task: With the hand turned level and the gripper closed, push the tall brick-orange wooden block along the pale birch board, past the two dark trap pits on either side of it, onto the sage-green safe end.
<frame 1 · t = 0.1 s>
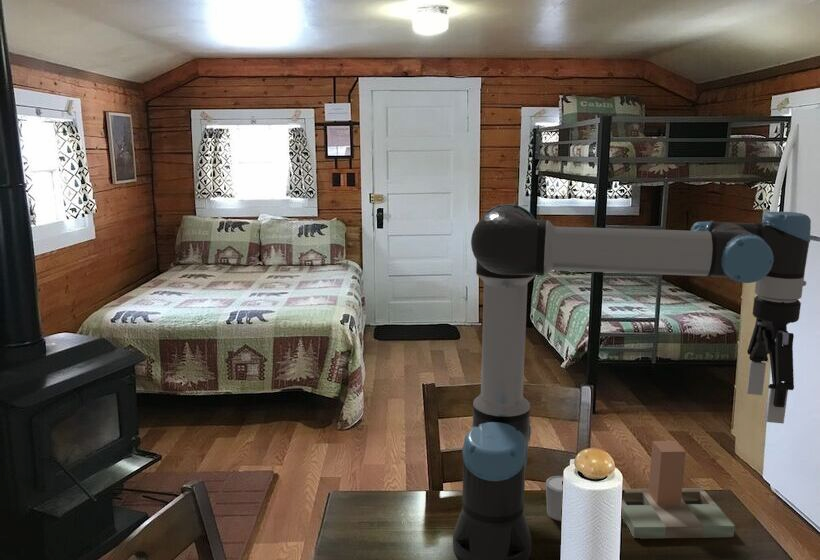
hand: (763, 407, 128), 28 cm above the table, tool pointing down, fingers open, 13 cm apart
board: (668, 516, 142), on the table
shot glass: (560, 514, 143), on the table
block: (664, 498, 144), point 2 cm above the table, touching board
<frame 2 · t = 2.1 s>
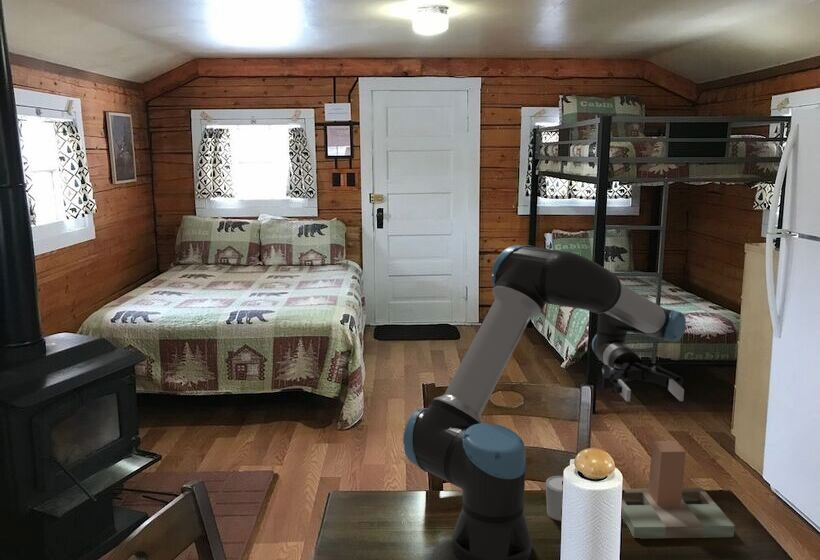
hand: (655, 395, 149), 22 cm above the table, tool horizontal, fingers open, 11 cm apart
nothing on the table moved.
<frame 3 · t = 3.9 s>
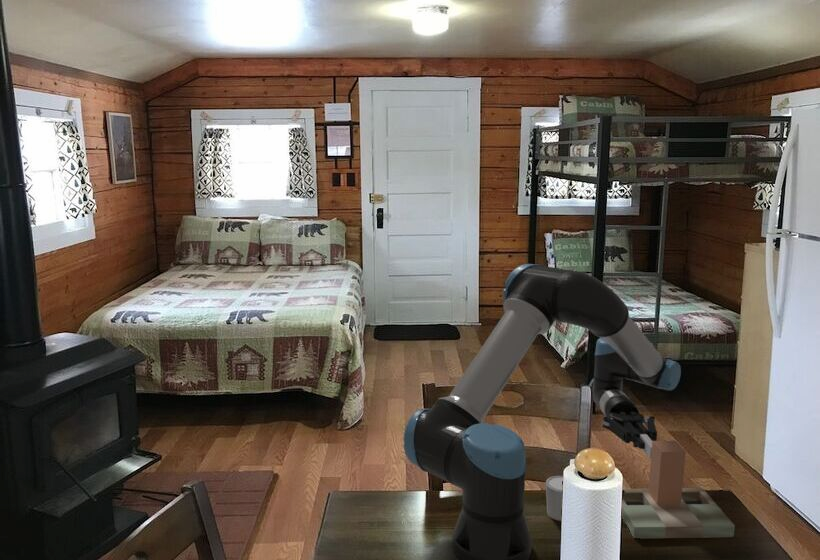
hand: (653, 452, 150), 9 cm above the table, tool horizontal, fingers closed
nothing on the table moved.
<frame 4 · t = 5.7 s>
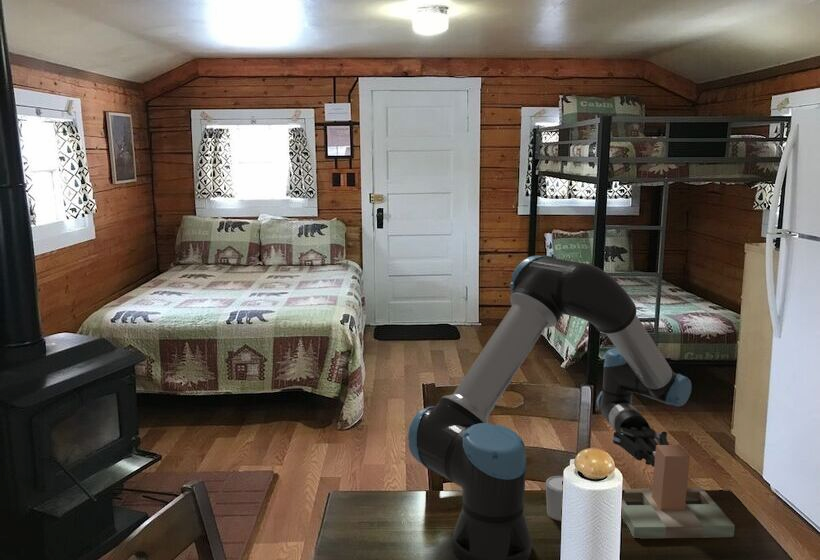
hand: (667, 471, 144), 8 cm above the table, tool horizontal, fingers closed
block: (667, 503, 142), point 3 cm above the table, touching board
everything else where it was.
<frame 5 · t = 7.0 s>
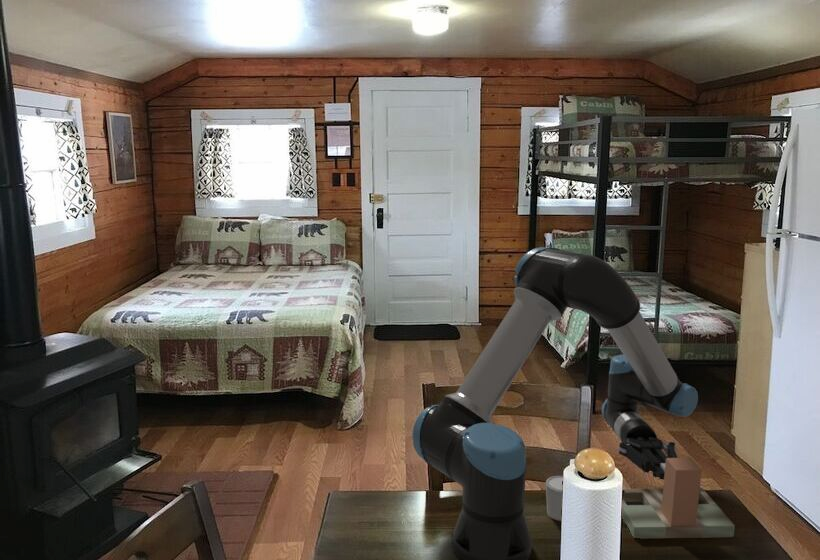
hand: (675, 484, 138), 8 cm above the table, tool horizontal, fingers closed
block: (678, 518, 137), point 3 cm above the table, touching board, gripper
everything else where it was.
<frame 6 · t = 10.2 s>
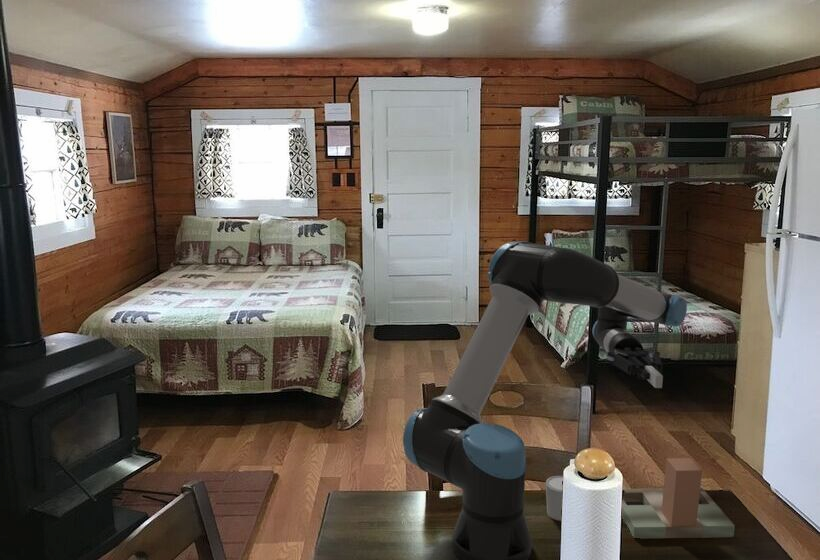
hand: (658, 382, 146), 26 cm above the table, tool horizontal, fingers closed
block: (678, 519, 137), point 2 cm above the table, touching board
everything else where it was.
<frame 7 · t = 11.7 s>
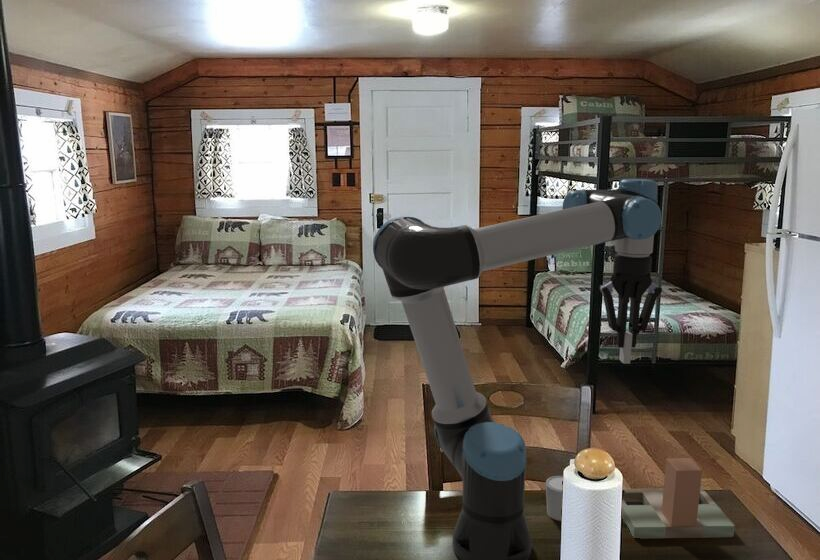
hand: (624, 361, 147), 30 cm above the table, tool pointing down, fingers closed
nothing on the table moved.
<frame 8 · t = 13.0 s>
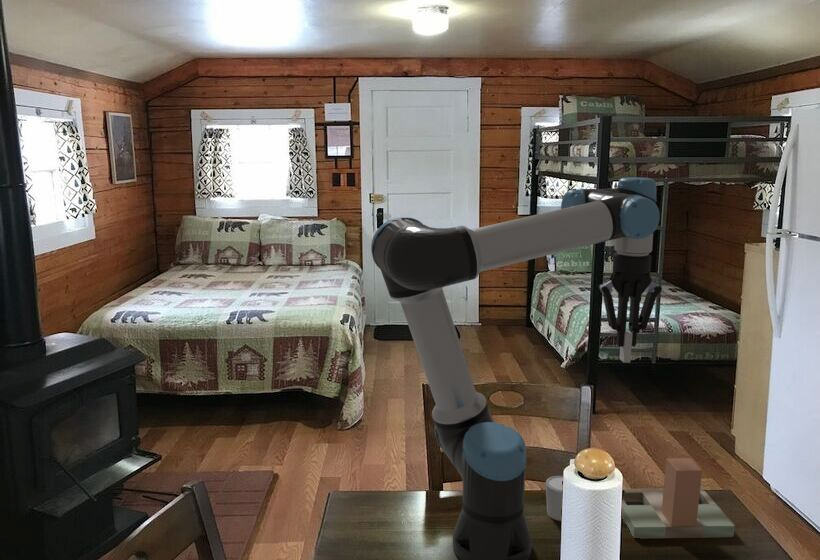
hand: (624, 360, 146), 30 cm above the table, tool pointing down, fingers closed
nothing on the table moved.
at the end: block 0.8 cm from the target spot on the board, point 2.5 cm above the board's base; block tilted 0° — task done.
